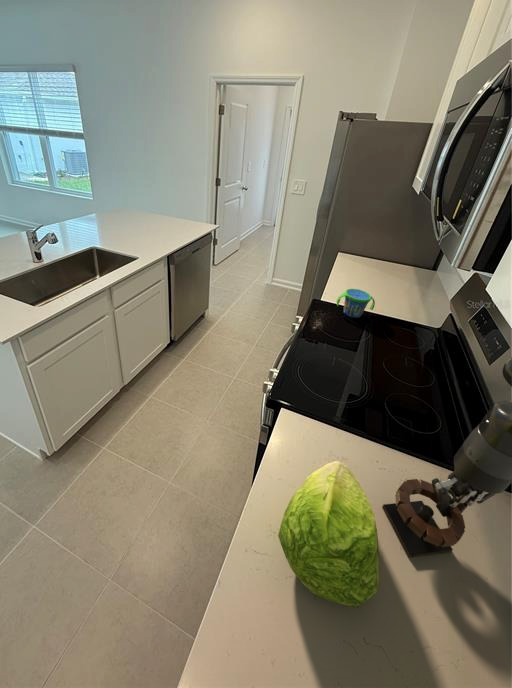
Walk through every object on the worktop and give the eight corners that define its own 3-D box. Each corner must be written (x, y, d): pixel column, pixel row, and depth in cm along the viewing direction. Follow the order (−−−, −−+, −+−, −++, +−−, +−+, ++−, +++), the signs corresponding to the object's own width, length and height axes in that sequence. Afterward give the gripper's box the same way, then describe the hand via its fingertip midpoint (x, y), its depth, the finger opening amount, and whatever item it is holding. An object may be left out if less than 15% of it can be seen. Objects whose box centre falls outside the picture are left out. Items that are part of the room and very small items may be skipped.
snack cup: (368, 310, 140) (374, 291, 135) (372, 323, 131) (380, 302, 126) (332, 305, 142) (338, 286, 137) (335, 317, 133) (340, 297, 128)
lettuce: (378, 505, 67) (388, 454, 62) (374, 644, 47) (388, 584, 42) (300, 477, 74) (303, 429, 70) (268, 586, 54) (269, 529, 49)
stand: (419, 503, 67) (432, 484, 64) (450, 552, 60) (467, 534, 56) (381, 507, 66) (392, 488, 62) (408, 557, 58) (422, 539, 55)
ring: (432, 482, 65) (436, 476, 64) (474, 543, 56) (480, 537, 55) (384, 486, 64) (387, 481, 63) (419, 550, 54) (423, 544, 53)
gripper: (472, 482, 47) (428, 536, 56) (548, 475, 49) (494, 529, 58) (437, 439, 54) (403, 494, 62) (506, 434, 56) (463, 488, 64)
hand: (447, 510), depth 60 cm, fingers closed on ring, 2 cm apart
